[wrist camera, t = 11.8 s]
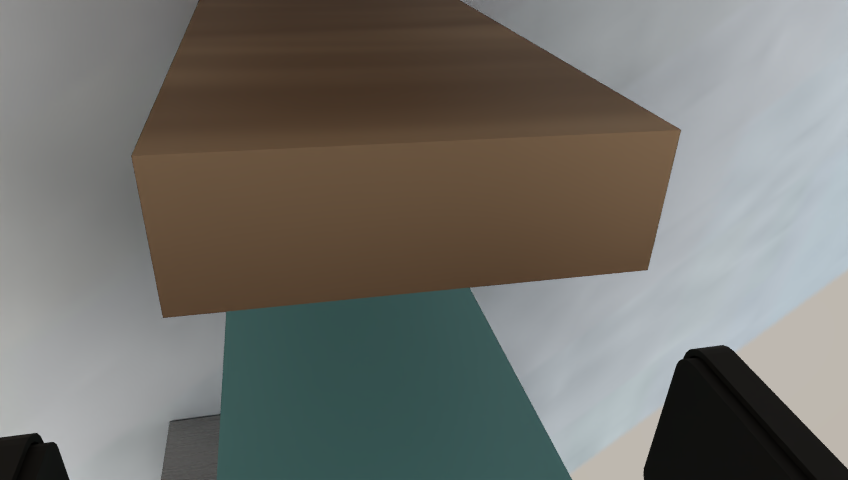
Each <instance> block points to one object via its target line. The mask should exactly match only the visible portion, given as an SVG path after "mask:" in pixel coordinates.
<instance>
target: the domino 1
mask: <svg viewBox="0 0 848 480" xmlns="http://www.w3.org/2000/svg"><path fill="white" fill-rule="evenodd" d="M680 132H681V130H680V129H679V128H677V127H675V126H673V125H672V124H670V123H668V122H667V121H665V120H663V119H662V118H660V117H658V116H656V115H655V114H653V113H651V112H650V111H648V110H646V109H644V108H643V107H641V106H639V105H638V104H636V103H634V102H632V101H631V100H629V99H627V98H626V97H624V96H622V95H621V94H619V93H617V92H615V91H614V90H612V89H610V88H609V87H607V86H605V85H603V84H602V83H600V82H598V81H597V80H595V79H593V78H592V77H590V76H588V75H586V74H585V73H583V72H581V71H580V70H578V69H576V68H574V67H573V66H571V65H569V64H568V63H566V62H564V61H562V60H561V59H559V58H557V57H556V56H554V55H552V54H551V53H549V52H547V51H545V50H544V49H542V48H540V47H539V46H537V45H535V44H533V43H532V42H530V41H528V40H527V39H525V38H523V37H522V36H520V35H518V34H516V33H515V32H513V31H511V30H510V29H508V28H506V27H504V26H503V25H501V24H499V23H498V22H496V21H494V20H492V19H491V18H489V17H487V16H486V15H484V14H482V13H481V12H479V11H477V10H475V9H474V8H472V7H470V6H469V5H467V4H465V3H463V2H462V1H460V0H199V2H198V4H197V7H196V9H195V11H194V13H193V16H192V18H191V20H190V23H189V25H188V27H187V29H186V32H185V34H184V36H183V39H182V41H181V43H180V46H179V48H178V50H177V52H176V55H175V57H174V59H173V62H172V64H171V66H170V68H169V71H168V73H167V75H166V78H165V80H164V82H163V84H162V87H161V89H160V91H159V94H158V96H157V98H156V100H155V103H154V105H153V107H152V110H151V112H150V114H149V117H148V119H147V121H146V123H145V126H144V128H143V130H142V133H141V135H140V137H139V139H138V142H137V144H136V146H135V149H134V151H133V153H132V155H131V157H132V162H133V167H134V172H135V177H136V182H137V188H138V193H139V198H140V203H141V208H142V213H143V218H144V223H145V228H146V234H147V239H148V244H149V249H150V254H151V259H152V264H153V269H154V275H155V280H156V285H157V290H158V295H159V300H160V305H161V310H162V315H163V318H167V317H177V316H187V315H197V314H207V313H217V312H228V311H238V310H248V309H258V308H268V307H278V306H288V305H298V304H308V303H319V302H329V301H339V300H349V299H359V298H369V297H379V296H389V295H399V294H410V293H420V292H430V291H440V290H450V289H460V288H470V287H480V286H491V285H501V284H511V283H521V282H531V281H541V280H551V279H561V278H571V277H582V276H592V275H602V274H612V273H622V272H632V271H642V270H648V266H649V262H650V258H651V254H652V249H653V245H654V241H655V237H656V233H657V229H658V224H659V220H660V216H661V212H662V208H663V203H664V199H665V195H666V191H667V187H668V182H669V178H670V174H671V170H672V166H673V161H674V157H675V153H676V149H677V145H678V140H679V136H680Z"/></svg>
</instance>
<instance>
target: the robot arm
mask: <svg viewBox="0 0 848 480" xmlns="http://www.w3.org/2000/svg"><path fill="white" fill-rule="evenodd" d="M0 480H69V477H68V474H67V471H66V469H65V466H64V463H63V460H62V457H61V454H60V452H59V449H58V447H57V444H56V443H54V442H49V443H44V442H43V440H42V438H41V436H40V435H39V434H37V433H33V434H25V435H17V436H9V437H1V438H0ZM644 480H848V469H847V468H846V467H845V466H844V465H843V464H842V463H841V462H840V461H839V460H838V458H837V457H835V455H834V454H833V453H832V452H831V451H830V450H829V449H828V448H827V447H826V446H825V445H824V444H823V443H822V442H821V441H820V440H819V439H818V438H817V437H816V436H815V435H814V434H813V433H812V432H811V431H810V430H809V429H808V427H807V426H805V424H804V423H803V422H801V420H800V419H799V418H798V417H797V416H796V415H795V414H794V413H793V412H792V411H791V410H790V409H789V408H788V407H787V406H786V405H785V404H784V403H783V402H782V401H781V400H780V399H779V398H778V396H776V395H775V393H774V392H772V390H771V389H770V388H769V387H768V386H767V385H766V384H765V383H764V382H763V381H762V380H761V379H760V378H759V377H758V376H757V375H756V374H755V373H754V372H753V371H752V370H751V369H750V368H749V367H748V366H747V364H745V362H744V361H743V360H742V359H741V358H740V357H739V356H738V355H737V354H736V353H735V352H734V351H733V350H732V349H730V348H729V347H727V346H724V345H721V346H713V347H705V348H697V349H691V350H689V351H688V352H686V354H685V356H684V358H683V359H682V360H680V361H679V362H678V363H677V365H676V368H675V372H674V375H673V378H672V381H671V384H670V387H669V391H668V394H667V397H666V400H665V403H664V406H663V410H662V413H661V416H660V419H659V423H658V426H657V429H656V432H655V435H654V438H653V442H652V445H651V448H650V451H649V454H648V457H647V461H646V464H645V467H644Z"/></svg>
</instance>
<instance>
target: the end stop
mask: <svg viewBox="0 0 848 480" xmlns="http://www.w3.org/2000/svg"><path fill="white" fill-rule="evenodd" d="M219 430H220V415H218V416H210V417H203V418H195V419H187V420H180V421H172V422H170V424H169V430H168V437H167V443H166V450H165V457H164V463H163V470H162V476H161V480H217V465H218V447H219Z"/></svg>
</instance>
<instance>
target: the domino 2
mask: <svg viewBox="0 0 848 480" xmlns="http://www.w3.org/2000/svg"><path fill="white" fill-rule="evenodd" d="M217 480H572V479H571V477H570V475H569V473H568V471H567V469H566V468H565V466H564V464H563V462H562V460H561V458H560V456H559V454H558V453H557V451H556V449H555V447H554V445H553V443H552V441H551V439H550V438H549V436H548V434H547V432H546V430H545V428H544V426H543V425H542V423H541V421H540V419H539V417H538V415H537V413H536V411H535V410H534V408H533V406H532V404H531V402H530V400H529V398H528V396H527V395H526V393H525V391H524V389H523V387H522V385H521V383H520V382H519V380H518V378H517V376H516V374H515V372H514V370H513V368H512V367H511V365H510V363H509V361H508V359H507V357H506V355H505V353H504V352H503V350H502V348H501V346H500V344H499V342H498V340H497V338H496V337H495V335H494V333H493V331H492V329H491V327H490V325H489V324H488V322H487V320H486V318H485V316H484V314H483V312H482V310H481V309H480V307H479V305H478V303H477V301H476V299H475V297H474V295H473V294H472V292H471V290H470V288H460V289H450V290H440V291H430V292H420V293H410V294H399V295H389V296H379V297H369V298H359V299H349V300H339V301H329V302H319V303H308V304H298V305H288V306H278V307H268V308H258V309H248V310H238V311H228V312H226V327H225V344H224V361H223V379H222V396H221V413H220V430H219V447H218V465H217Z"/></svg>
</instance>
